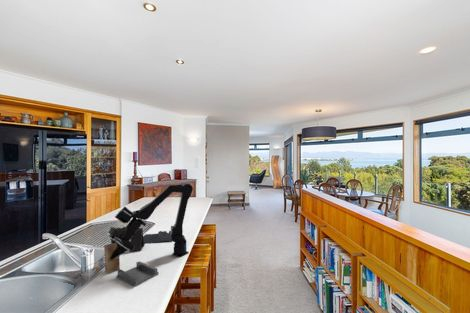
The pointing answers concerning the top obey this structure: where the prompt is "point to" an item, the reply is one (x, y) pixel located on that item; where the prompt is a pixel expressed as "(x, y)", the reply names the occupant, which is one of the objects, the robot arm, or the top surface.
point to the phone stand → (138, 240)
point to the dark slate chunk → (157, 238)
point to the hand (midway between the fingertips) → (108, 257)
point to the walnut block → (111, 264)
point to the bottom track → (137, 274)
